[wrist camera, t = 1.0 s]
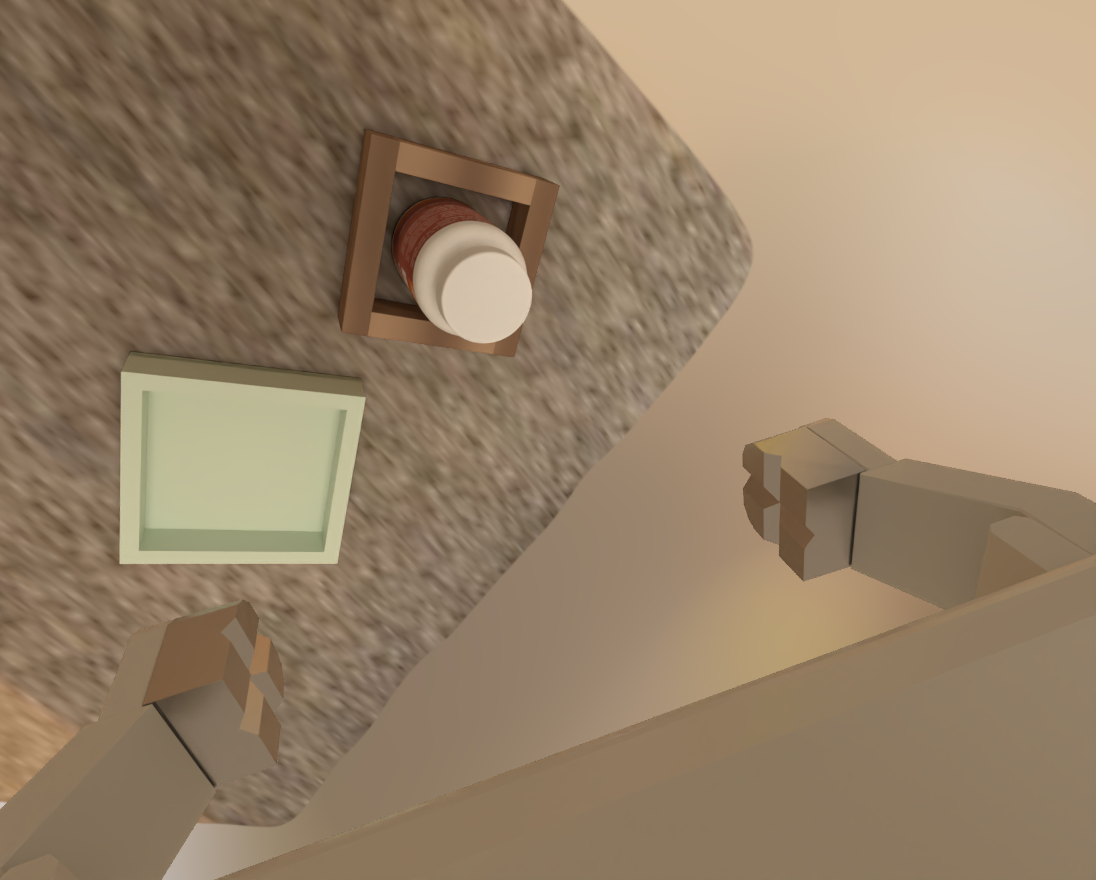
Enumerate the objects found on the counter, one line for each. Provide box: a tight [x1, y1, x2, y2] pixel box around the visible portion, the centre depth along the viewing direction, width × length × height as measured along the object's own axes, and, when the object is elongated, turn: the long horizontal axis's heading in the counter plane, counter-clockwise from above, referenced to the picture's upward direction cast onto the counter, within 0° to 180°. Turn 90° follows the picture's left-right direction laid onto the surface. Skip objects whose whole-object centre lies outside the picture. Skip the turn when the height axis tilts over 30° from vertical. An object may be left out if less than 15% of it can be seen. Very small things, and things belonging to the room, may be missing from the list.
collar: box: [338, 129, 559, 357], centre depth 40 cm, size 11×11×3 cm
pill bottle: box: [392, 197, 532, 343], centre depth 37 cm, size 6×6×11 cm
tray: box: [120, 351, 366, 564], centre depth 42 cm, size 13×13×3 cm
